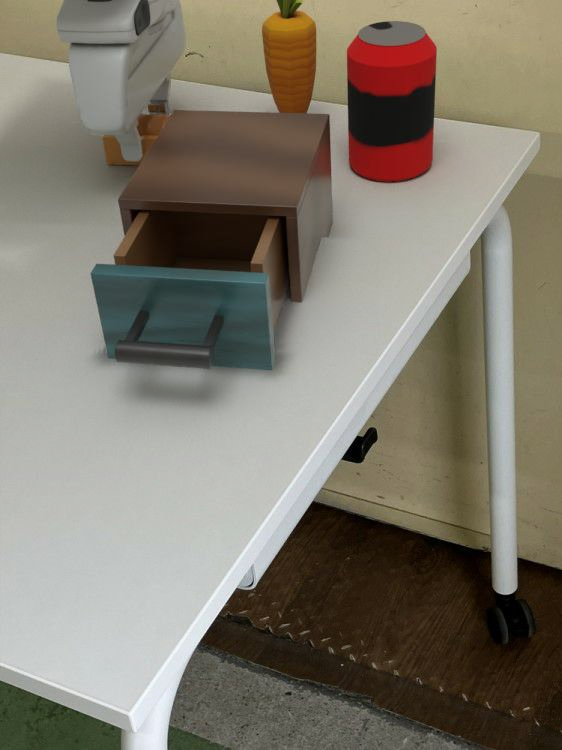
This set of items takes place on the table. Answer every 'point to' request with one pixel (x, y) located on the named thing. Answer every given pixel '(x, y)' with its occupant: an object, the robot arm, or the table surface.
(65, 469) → the table surface
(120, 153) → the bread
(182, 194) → the cabinet
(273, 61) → the carrot
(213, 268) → the drawer
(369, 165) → the soda can
